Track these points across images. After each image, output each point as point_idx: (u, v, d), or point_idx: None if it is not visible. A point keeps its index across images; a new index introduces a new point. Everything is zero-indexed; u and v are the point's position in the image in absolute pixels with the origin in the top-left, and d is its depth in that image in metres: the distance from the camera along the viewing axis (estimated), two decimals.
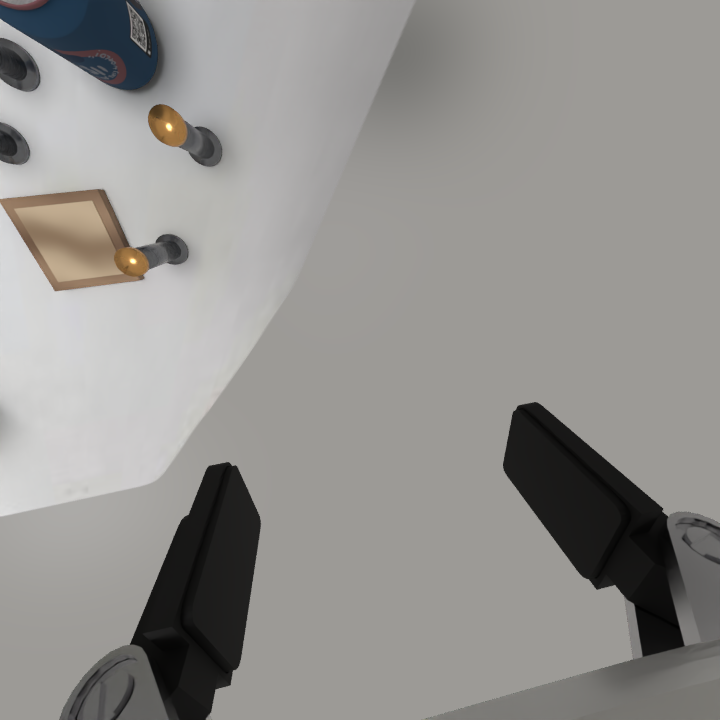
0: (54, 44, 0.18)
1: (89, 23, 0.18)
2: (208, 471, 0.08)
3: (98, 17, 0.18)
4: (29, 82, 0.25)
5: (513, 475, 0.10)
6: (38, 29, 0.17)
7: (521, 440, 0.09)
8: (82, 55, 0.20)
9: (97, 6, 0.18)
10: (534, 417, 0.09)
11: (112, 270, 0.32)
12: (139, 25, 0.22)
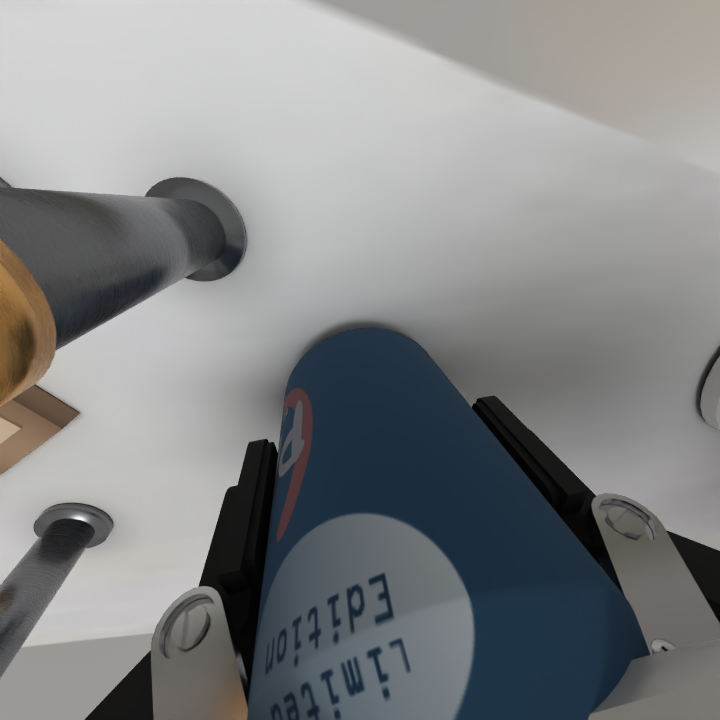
0: None
1: None
2: (250, 446, 0.09)
3: None
4: None
5: None
6: None
7: None
8: None
9: None
10: (489, 409, 0.09)
11: None
12: None
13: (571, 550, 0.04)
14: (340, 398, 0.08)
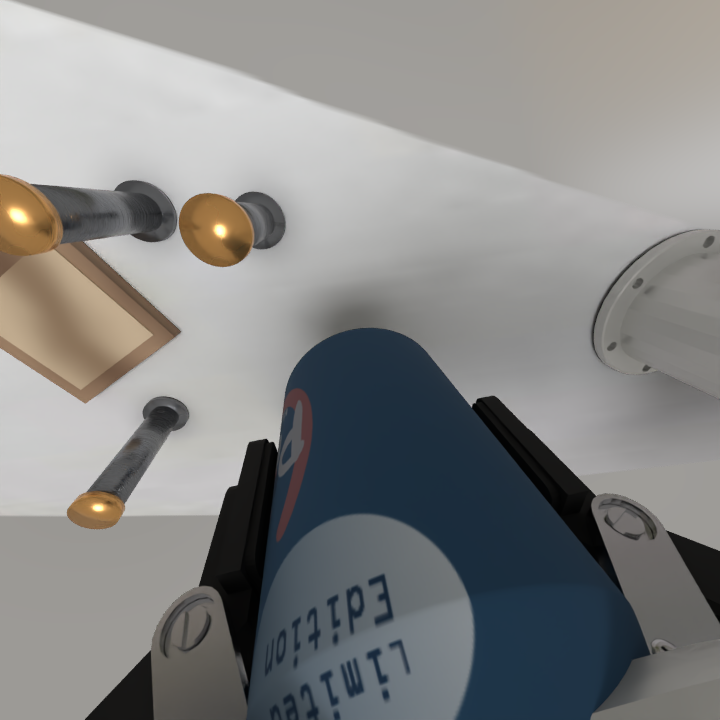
0: None
1: None
2: (250, 446, 0.09)
3: None
4: None
5: None
6: None
7: None
8: None
9: None
10: (490, 409, 0.09)
11: (65, 372, 0.20)
12: None
13: (571, 551, 0.04)
14: (340, 398, 0.08)
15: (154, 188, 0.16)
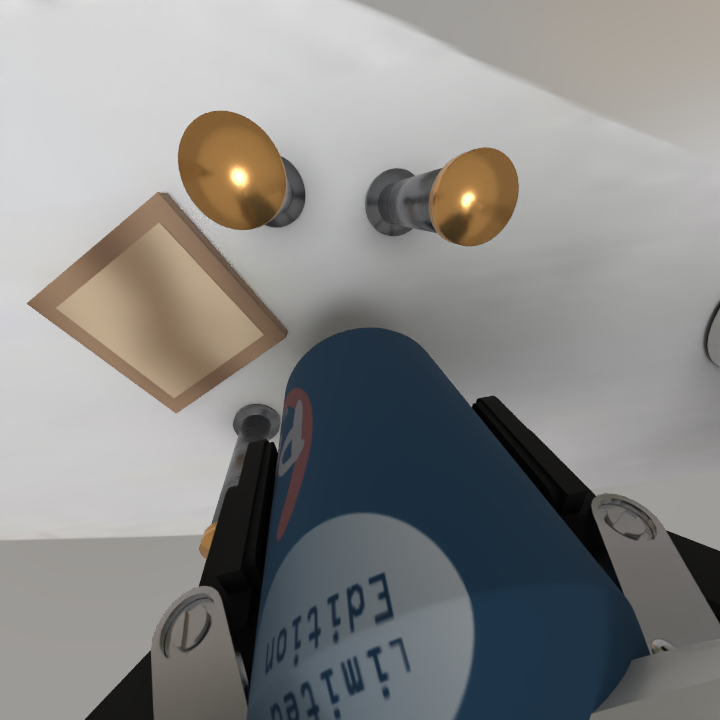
0: None
1: None
2: (250, 446, 0.09)
3: None
4: (383, 227, 0.16)
5: None
6: None
7: None
8: None
9: None
10: (490, 409, 0.09)
11: (160, 378, 0.17)
12: None
13: (571, 550, 0.04)
14: (340, 397, 0.08)
15: (289, 163, 0.14)
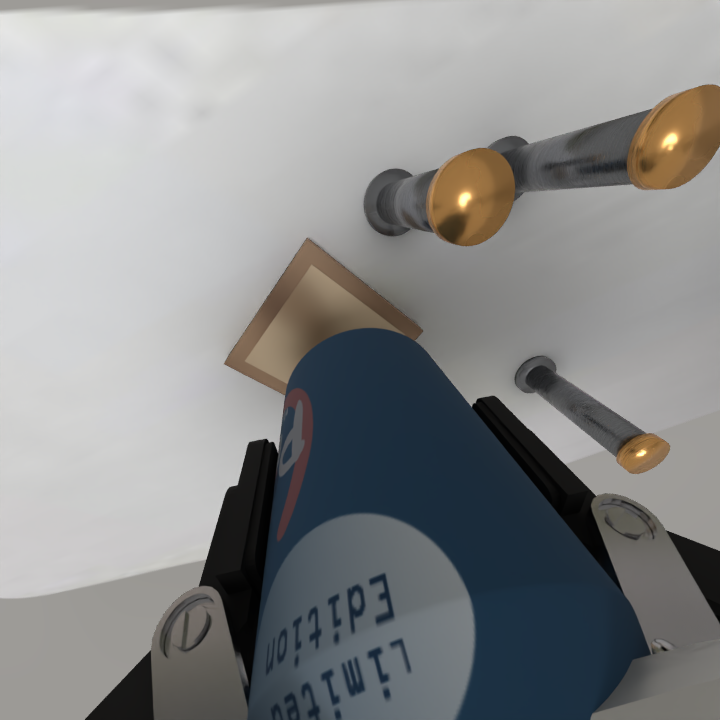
0: None
1: None
2: (250, 446, 0.09)
3: None
4: None
5: None
6: None
7: None
8: None
9: None
10: (489, 409, 0.09)
11: None
12: None
13: (572, 550, 0.04)
14: (340, 397, 0.08)
15: (405, 172, 0.15)
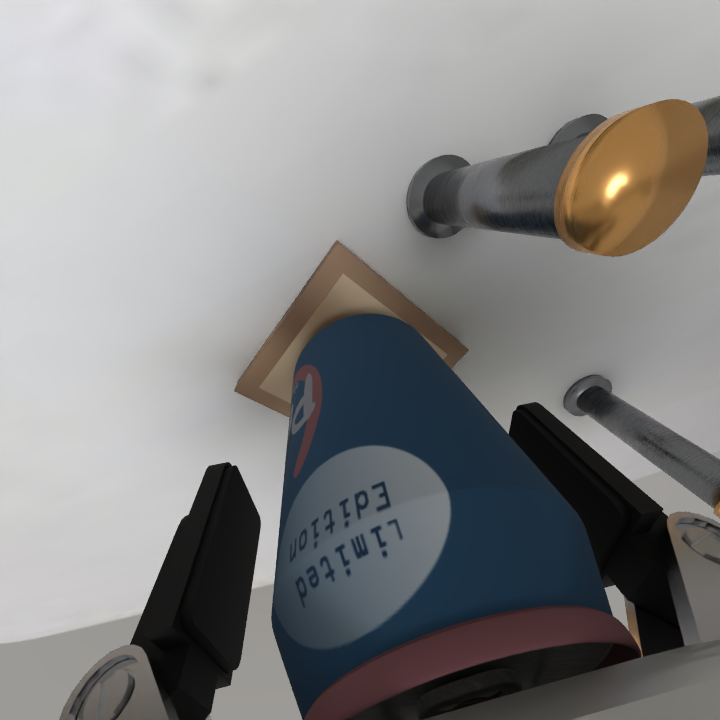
0: None
1: None
2: (208, 471, 0.08)
3: None
4: None
5: None
6: None
7: (521, 440, 0.09)
8: None
9: None
10: (534, 417, 0.09)
11: None
12: None
13: (533, 473, 0.06)
14: (345, 368, 0.09)
15: (461, 159, 0.12)
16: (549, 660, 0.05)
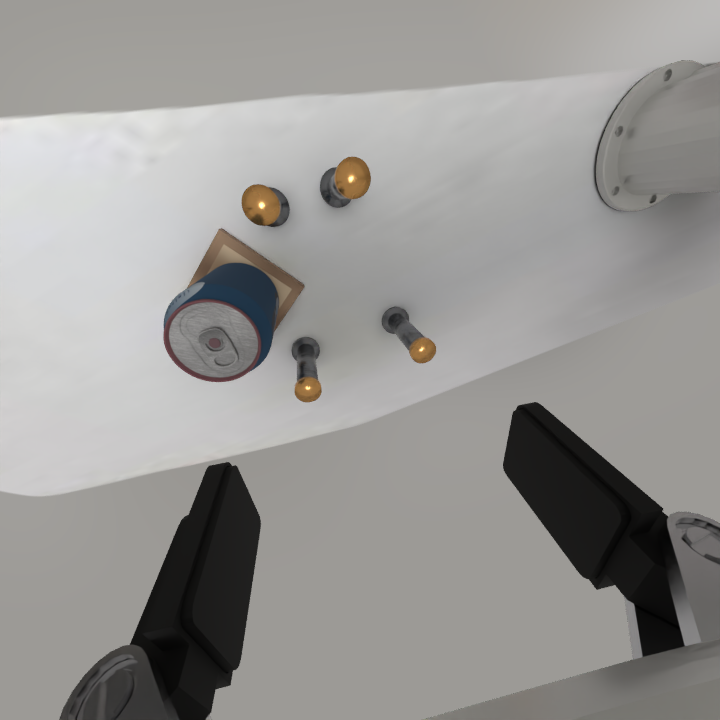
0: None
1: None
2: (208, 471, 0.08)
3: None
4: (335, 203, 0.27)
5: (512, 475, 0.10)
6: None
7: (521, 440, 0.09)
8: None
9: None
10: (534, 417, 0.09)
11: None
12: None
13: (240, 288, 0.19)
14: (206, 275, 0.22)
15: (274, 189, 0.26)
16: (236, 332, 0.19)
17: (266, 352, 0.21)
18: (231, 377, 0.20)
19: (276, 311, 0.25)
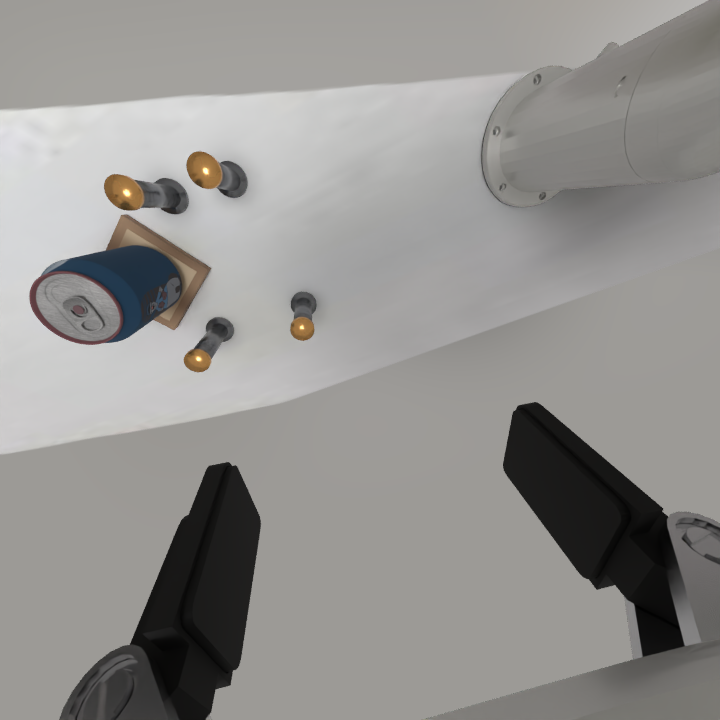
0: None
1: None
2: (208, 471, 0.08)
3: None
4: (230, 194, 0.30)
5: (512, 475, 0.10)
6: None
7: (521, 440, 0.09)
8: None
9: None
10: (534, 417, 0.09)
11: None
12: None
13: (106, 264, 0.23)
14: None
15: (171, 179, 0.29)
16: (97, 301, 0.22)
17: (136, 321, 0.24)
18: (100, 341, 0.23)
19: (166, 289, 0.28)
